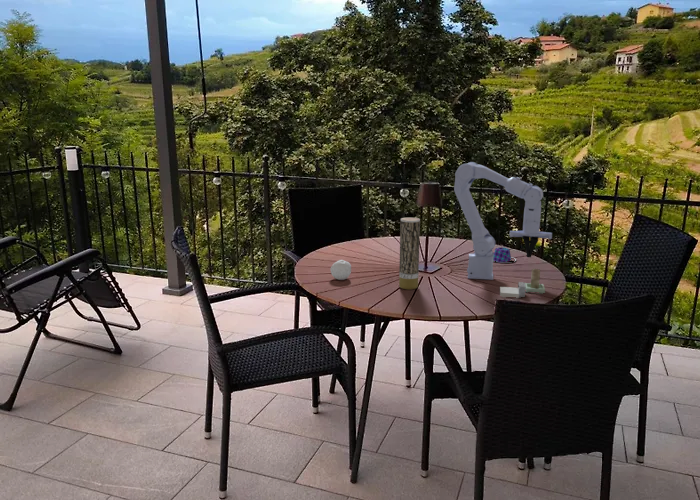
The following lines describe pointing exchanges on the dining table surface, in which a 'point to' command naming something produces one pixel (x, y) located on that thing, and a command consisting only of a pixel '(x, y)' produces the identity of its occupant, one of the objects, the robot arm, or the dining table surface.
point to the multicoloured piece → (502, 255)
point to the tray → (529, 289)
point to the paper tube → (409, 253)
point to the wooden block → (521, 289)
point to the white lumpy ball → (341, 269)
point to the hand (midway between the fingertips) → (528, 256)
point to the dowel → (535, 278)
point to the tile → (509, 292)
